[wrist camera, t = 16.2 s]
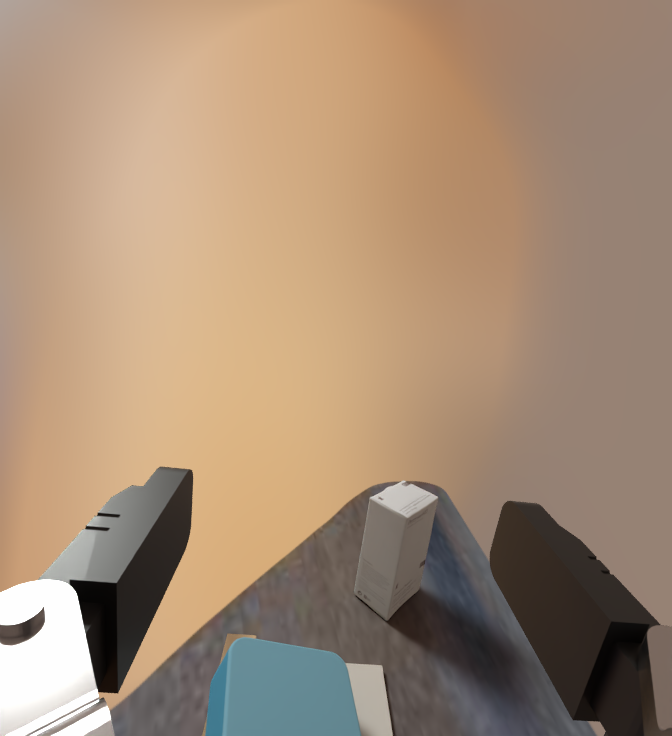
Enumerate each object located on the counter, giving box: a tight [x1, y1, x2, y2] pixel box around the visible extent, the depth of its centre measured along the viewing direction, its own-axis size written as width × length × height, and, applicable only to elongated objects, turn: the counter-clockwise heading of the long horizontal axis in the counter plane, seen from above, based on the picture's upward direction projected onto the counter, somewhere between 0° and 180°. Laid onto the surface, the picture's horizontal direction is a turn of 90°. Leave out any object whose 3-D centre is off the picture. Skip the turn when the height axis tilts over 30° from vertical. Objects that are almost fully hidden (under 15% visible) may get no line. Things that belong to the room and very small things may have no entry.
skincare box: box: [354, 481, 438, 621], centre depth 52 cm, size 8×6×15 cm
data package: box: [205, 637, 361, 736], centre depth 32 cm, size 12×4×12 cm
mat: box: [345, 663, 393, 736], centre depth 38 cm, size 14×10×1 cm
